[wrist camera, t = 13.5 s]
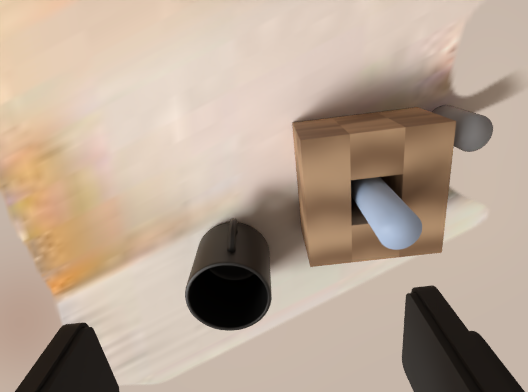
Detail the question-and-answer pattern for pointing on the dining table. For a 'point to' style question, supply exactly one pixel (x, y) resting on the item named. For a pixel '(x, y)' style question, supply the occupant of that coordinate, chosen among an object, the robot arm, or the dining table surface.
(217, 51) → the dining table surface
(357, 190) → the tall pin
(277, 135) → the dining table surface
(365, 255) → the hole block
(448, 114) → the short pin
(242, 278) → the mug
